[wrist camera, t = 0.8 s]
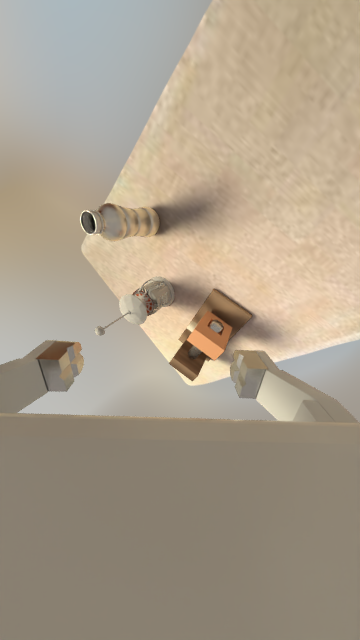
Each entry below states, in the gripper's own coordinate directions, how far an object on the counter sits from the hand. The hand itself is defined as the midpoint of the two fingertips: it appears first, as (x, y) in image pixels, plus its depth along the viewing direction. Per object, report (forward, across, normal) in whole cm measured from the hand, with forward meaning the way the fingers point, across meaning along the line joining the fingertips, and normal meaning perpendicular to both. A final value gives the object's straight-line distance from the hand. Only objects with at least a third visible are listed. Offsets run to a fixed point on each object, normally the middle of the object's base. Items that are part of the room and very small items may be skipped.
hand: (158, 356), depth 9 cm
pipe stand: (+39, -13, +17) cm, 44 cm away
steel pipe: (+34, -10, +19) cm, 40 cm away
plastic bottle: (+44, +6, -9) cm, 46 cm away
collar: (+35, -13, +14) cm, 40 cm away
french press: (+45, +3, +8) cm, 46 cm away
